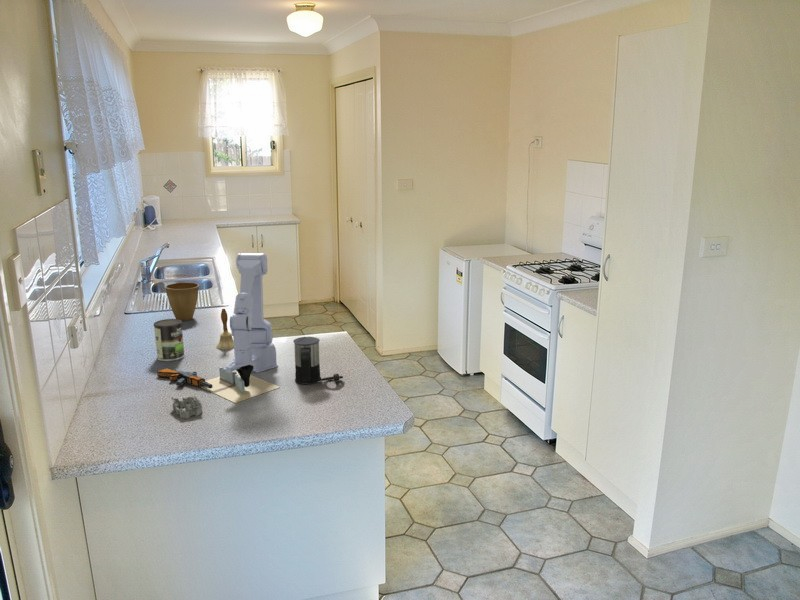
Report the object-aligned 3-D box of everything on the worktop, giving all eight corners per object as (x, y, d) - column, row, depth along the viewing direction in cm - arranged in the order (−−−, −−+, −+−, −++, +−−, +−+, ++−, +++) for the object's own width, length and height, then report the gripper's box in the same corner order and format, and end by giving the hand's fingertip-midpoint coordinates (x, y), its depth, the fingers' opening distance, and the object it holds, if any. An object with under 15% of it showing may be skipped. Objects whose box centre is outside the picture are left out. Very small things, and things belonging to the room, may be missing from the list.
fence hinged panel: (233, 383, 228) (232, 372, 227) (236, 383, 228) (236, 371, 227) (241, 393, 219) (241, 381, 218) (245, 392, 220) (244, 380, 219)
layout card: (239, 370, 241) (239, 370, 241) (279, 387, 226) (279, 386, 225) (195, 384, 228) (195, 383, 228) (235, 403, 213) (235, 402, 213)
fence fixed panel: (235, 383, 228) (234, 371, 227) (232, 384, 228) (232, 372, 227) (222, 377, 234) (221, 366, 233) (220, 378, 233) (219, 367, 232)
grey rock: (171, 408, 209) (170, 396, 208) (194, 403, 213) (193, 391, 212) (180, 420, 201) (179, 408, 200) (204, 414, 205) (203, 402, 204)
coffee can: (190, 354, 259) (187, 320, 256) (173, 362, 250) (170, 327, 246) (168, 351, 263) (165, 317, 259) (151, 359, 253) (147, 324, 250)
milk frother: (292, 377, 235) (290, 337, 232) (335, 371, 241) (334, 333, 237) (301, 391, 222) (299, 349, 219) (345, 385, 228) (345, 344, 224)
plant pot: (183, 324, 299) (180, 290, 295) (161, 320, 306) (158, 286, 302) (208, 316, 311) (205, 284, 307) (186, 312, 318) (183, 280, 314)
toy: (153, 377, 235) (178, 370, 242) (196, 395, 218) (221, 386, 226) (152, 371, 234) (177, 363, 242) (195, 388, 218) (220, 379, 225)
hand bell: (225, 351, 263) (222, 312, 259) (212, 347, 268) (209, 309, 264) (241, 345, 270) (239, 308, 266) (228, 342, 274) (225, 305, 270)
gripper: (249, 340, 227) (251, 377, 231) (218, 352, 215) (221, 390, 219) (264, 343, 224) (266, 380, 227) (233, 356, 212) (236, 395, 215)
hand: (245, 386), depth 223 cm, fingers closed, pressing on fence hinged panel
